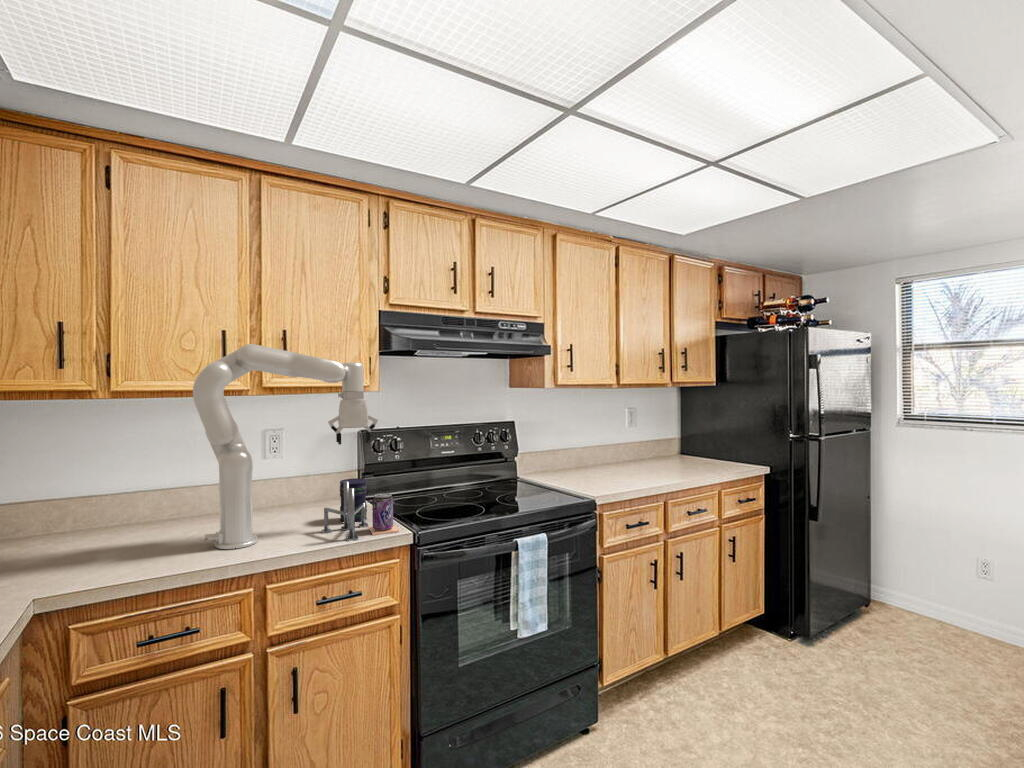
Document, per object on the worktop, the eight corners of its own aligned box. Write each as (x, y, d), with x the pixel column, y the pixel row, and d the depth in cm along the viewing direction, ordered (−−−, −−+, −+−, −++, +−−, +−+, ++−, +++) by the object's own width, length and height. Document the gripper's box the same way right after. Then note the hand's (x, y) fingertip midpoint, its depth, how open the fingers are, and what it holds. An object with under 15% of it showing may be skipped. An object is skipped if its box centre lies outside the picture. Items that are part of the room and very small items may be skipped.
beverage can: (374, 532, 184) (374, 498, 184) (371, 527, 190) (370, 493, 190) (395, 530, 187) (394, 496, 187) (391, 524, 193) (390, 492, 193)
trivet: (372, 535, 183) (372, 533, 183) (368, 528, 191) (368, 527, 191) (398, 532, 186) (398, 530, 186) (393, 525, 194) (393, 523, 194)
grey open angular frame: (325, 544, 174) (325, 492, 173) (321, 530, 189) (320, 482, 189) (375, 537, 180) (375, 487, 180) (367, 524, 196) (366, 478, 196)
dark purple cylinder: (351, 524, 196) (351, 484, 196) (334, 521, 201) (333, 481, 201) (372, 518, 204) (372, 480, 204) (355, 515, 210) (355, 477, 209)
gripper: (329, 397, 186) (329, 446, 187) (379, 396, 193) (379, 443, 194) (326, 396, 193) (327, 443, 193) (375, 395, 200) (375, 440, 201)
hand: (353, 443), depth 194 cm, fingers open, 9 cm apart
